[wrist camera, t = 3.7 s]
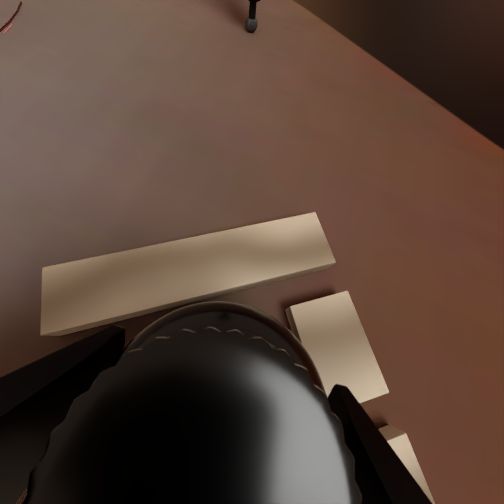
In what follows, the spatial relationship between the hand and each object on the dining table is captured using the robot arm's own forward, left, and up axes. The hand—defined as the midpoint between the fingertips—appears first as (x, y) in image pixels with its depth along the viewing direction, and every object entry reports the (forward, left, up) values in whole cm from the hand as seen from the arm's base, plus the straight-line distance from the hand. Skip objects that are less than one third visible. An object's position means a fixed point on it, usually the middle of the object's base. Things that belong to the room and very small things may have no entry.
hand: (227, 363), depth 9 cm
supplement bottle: (-1, +1, -7) cm, 7 cm away
